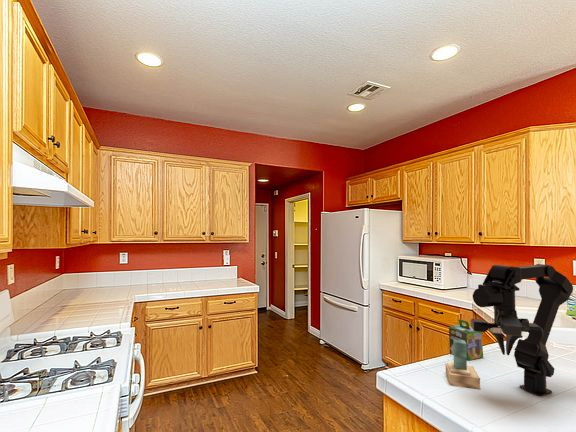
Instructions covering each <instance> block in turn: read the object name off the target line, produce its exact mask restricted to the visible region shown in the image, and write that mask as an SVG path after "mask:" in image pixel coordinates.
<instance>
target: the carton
mask: <svg viewBox="0 0 576 432" xmlns="http://www.w3.org/2000/svg"><path fill="white" fill-rule="evenodd" d="M467 367H468V369H469V371H470V373H471V375H466V374H458V373H451V372H450V369H449V366H448V362H445V375H446V378H447V380H448V383H449V385H450V386H455V387H461V388H462V387H463V388H470V389H477V390H480V389H481V377H480V376H479V374H478V372H477V371H476V369H475V367H474V366H473V365H467Z"/></svg>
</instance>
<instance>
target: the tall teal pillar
mask: <svg viewBox="0 0 576 432" xmlns="http://www.w3.org/2000/svg"><path fill="white" fill-rule="evenodd" d="M453 348H454V355H453V362H449V361H448V362H447V363H448V366H449V369H450V372H451V373H458V374H466V375H471V373H470V371H469V369H468V367H467V366H468V364H467V363H468V362H467V354H466V342H465V341H464V340H455V339H453Z"/></svg>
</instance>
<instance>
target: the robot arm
mask: <svg viewBox="0 0 576 432" xmlns="http://www.w3.org/2000/svg"><path fill="white" fill-rule="evenodd" d="M528 279H535V283H536V285H538V286H539V288H538V292H539V293H538V294H539V295H540V299H541V301H540V302H539V306H538V307H537V310H536V313H535V316H534V319H533V321H532V322H530V321H529V319H528V318H522V317H521V318H519V317H518V313H517V309H516V291H520V288H519V287H518V286H517V284H519V283H521V282H522V281H523V280H528ZM477 287H478V288H476V289H474V291H473V293H472V300H473V303H474V304H475V305H476V306H478V307H480V308H489V307H491V308H492V307H493V308H492V309H493V317H494V318H493V322H487V321H486V320H485V319H484V318H471V319H470V321H469V322H470V324H469V326H471V328H472V329H473V330H474V331H479V332H482V333H487V331H489V333H491V335H493V336H494V337H495V340H496V341H497V344H498V346H499V349H500V352H501V353H502V355H503V356H505V355H506V356H510V354H511V352H512V349H513V347H514V344H515V343H516V342H517V343H516V346H515V347H514V349H513V350H514V353H513V356H514V358H515V360H514V361H515V363H516V367H517V368H520V369H523V384H521V385H519V388H520V389H522V390H523V391H527V392H530V393H532V394H534V395H537V396H538V397H542V396H546V395H549V394H552V392H553V391H552V389H548V388H547V378H552V376H554V374H555V367H554V366H553V365H552V364H551V362H550V361H549V356H550V355H549V352H548V349H547V346H546V345H547V342H548V339H549V337H550V333H551V331H552V328H553V325H554V322H555V319H556V316H557V313H558V310H559V308H560V306H561V305H563V304H564V303H566V302H568V300H569V299H570V297H571V295H572V293H573V291H574V285H573V284H572V283H571V281H570V280H569V278H568V277H567V276H565V275H564V274H562V273H560V272H559V271H557V270H556V269H555V267H554V266H552V265H550V264H541V263H536V264H530V265H523V266H522V265H520V266H519V265H518V266H510V265H503V264H493V265H491V267H490V269H489V270H488V272H487V274H486V276H485V278H484V280H483V283H482V284H478V285H477ZM522 333H528V334H527V335H528V336H526V338H525V339H523V335H522ZM505 335H506V336H505ZM504 337H506V338H505V342H504Z"/></svg>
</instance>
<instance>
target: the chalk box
mask: <svg viewBox="0 0 576 432" xmlns="http://www.w3.org/2000/svg"><path fill="white" fill-rule="evenodd" d="M463 323H464V324H463ZM448 339H449V354H451V355H453V354H454V348H453V339H455V340H464V341H465V342H466V354H467V361H472V360H476V359H481V358H484V351H483V350H484V346H483V332H479V331H474V330H473V329H472V328H471V326H470V324H469V321H467V320H464V319H460V318H459V319H458V324H456V325H451V326H448Z"/></svg>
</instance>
